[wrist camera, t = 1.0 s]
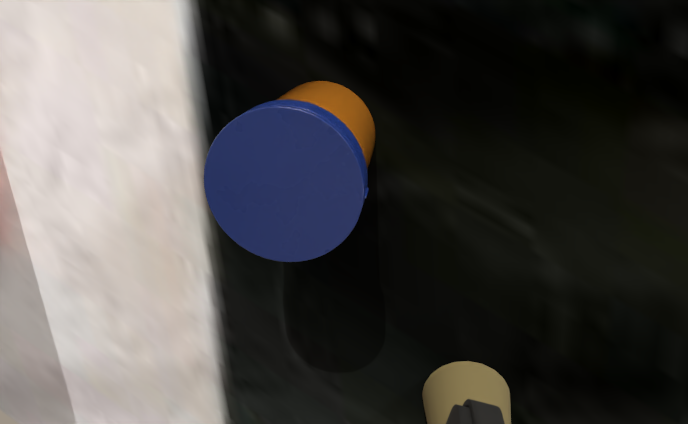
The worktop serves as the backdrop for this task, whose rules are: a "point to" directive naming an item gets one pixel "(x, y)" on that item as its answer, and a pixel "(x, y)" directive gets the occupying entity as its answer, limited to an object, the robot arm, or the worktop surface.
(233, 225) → the lid
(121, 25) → the worktop surface
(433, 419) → the cork
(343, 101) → the jar
